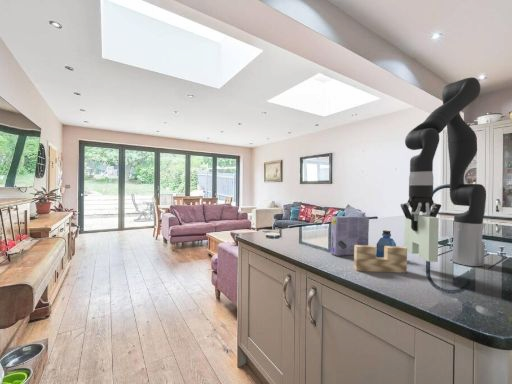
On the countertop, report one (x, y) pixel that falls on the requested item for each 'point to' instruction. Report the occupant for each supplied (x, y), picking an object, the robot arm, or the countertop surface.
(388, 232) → the perfume bottle
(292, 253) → the countertop surface
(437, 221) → the sage board
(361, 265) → the oak u-shaped block
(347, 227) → the cake pan box
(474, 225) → the robot arm
